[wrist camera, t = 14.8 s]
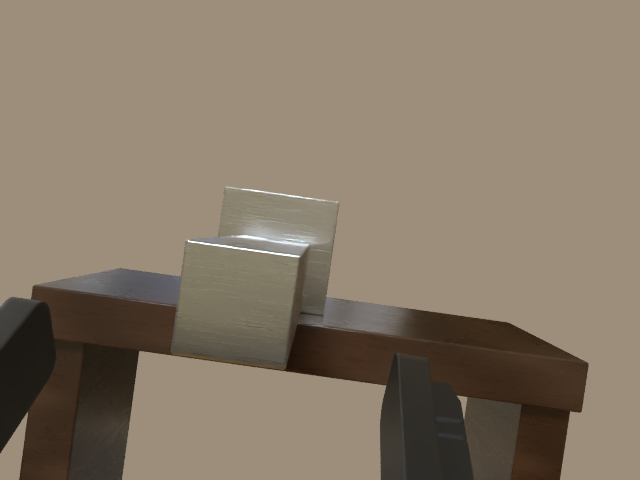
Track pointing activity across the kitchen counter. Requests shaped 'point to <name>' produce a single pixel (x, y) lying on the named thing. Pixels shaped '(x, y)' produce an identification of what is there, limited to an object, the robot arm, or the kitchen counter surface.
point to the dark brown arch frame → (306, 358)
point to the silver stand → (254, 278)
